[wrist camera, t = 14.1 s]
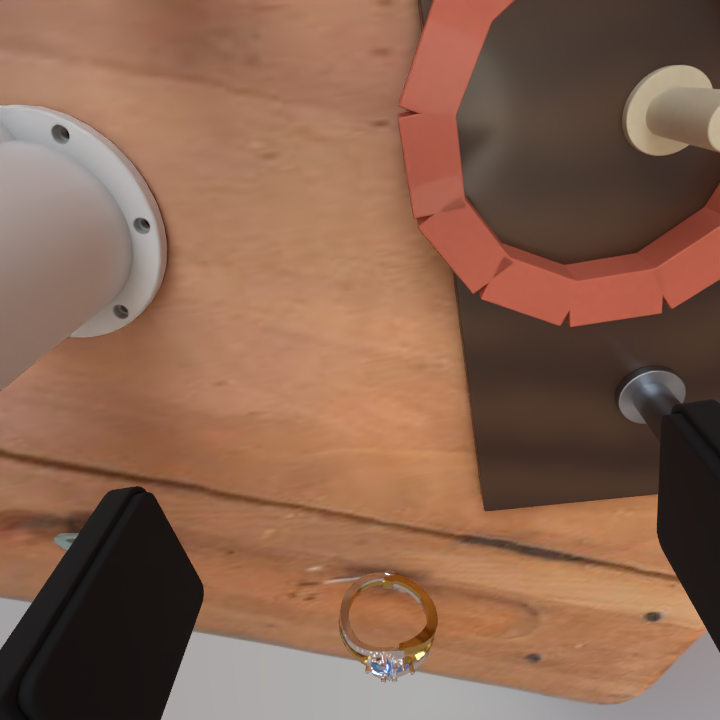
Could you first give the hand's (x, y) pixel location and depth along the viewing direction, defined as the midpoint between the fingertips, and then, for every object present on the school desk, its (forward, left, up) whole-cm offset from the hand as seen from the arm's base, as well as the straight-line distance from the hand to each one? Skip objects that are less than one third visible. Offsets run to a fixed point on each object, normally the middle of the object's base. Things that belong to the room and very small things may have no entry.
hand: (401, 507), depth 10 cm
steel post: (+16, +6, -20) cm, 26 cm away
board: (+9, +9, -21) cm, 25 cm away
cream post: (+2, +13, -19) cm, 23 cm away
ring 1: (+22, -16, -21) cm, 35 cm away
